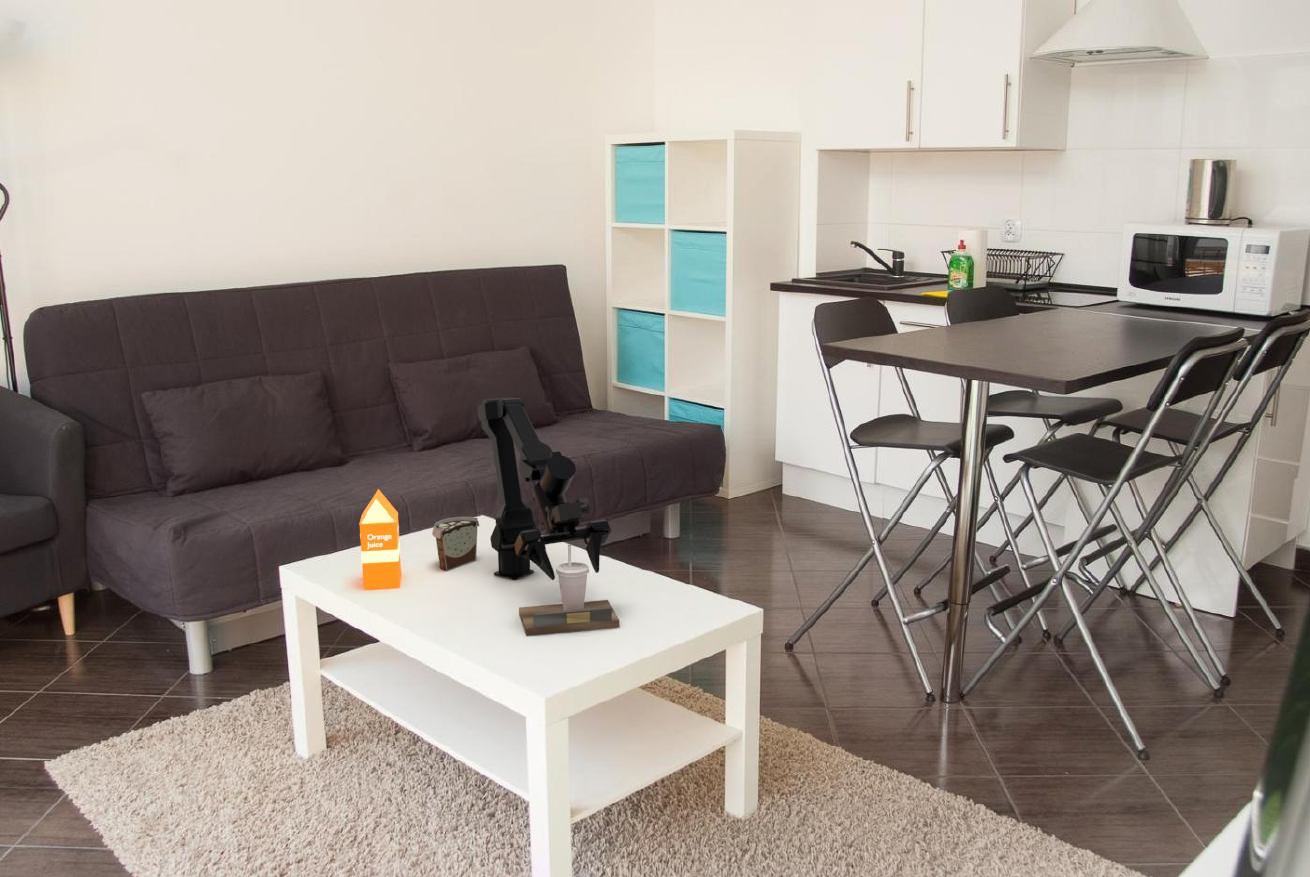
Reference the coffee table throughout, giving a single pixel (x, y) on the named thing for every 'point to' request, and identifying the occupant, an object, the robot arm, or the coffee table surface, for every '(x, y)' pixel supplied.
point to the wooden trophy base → (568, 618)
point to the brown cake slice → (456, 541)
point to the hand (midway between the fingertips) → (575, 575)
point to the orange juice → (380, 545)
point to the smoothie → (572, 583)
